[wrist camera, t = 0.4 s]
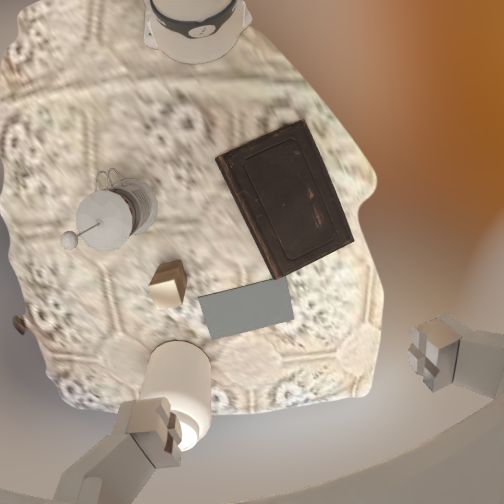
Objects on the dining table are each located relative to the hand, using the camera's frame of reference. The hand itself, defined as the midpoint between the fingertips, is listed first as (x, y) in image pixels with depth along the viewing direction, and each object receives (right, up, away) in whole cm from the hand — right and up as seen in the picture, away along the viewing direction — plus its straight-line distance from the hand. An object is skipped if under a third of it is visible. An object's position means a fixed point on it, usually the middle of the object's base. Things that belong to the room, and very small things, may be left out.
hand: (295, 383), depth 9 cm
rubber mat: (-2, -6, +48) cm, 49 cm away
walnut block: (-15, 0, +45) cm, 48 cm away
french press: (-22, +13, +41) cm, 48 cm away
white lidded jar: (-16, -18, +51) cm, 56 cm away
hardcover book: (+5, +13, +45) cm, 47 cm away
